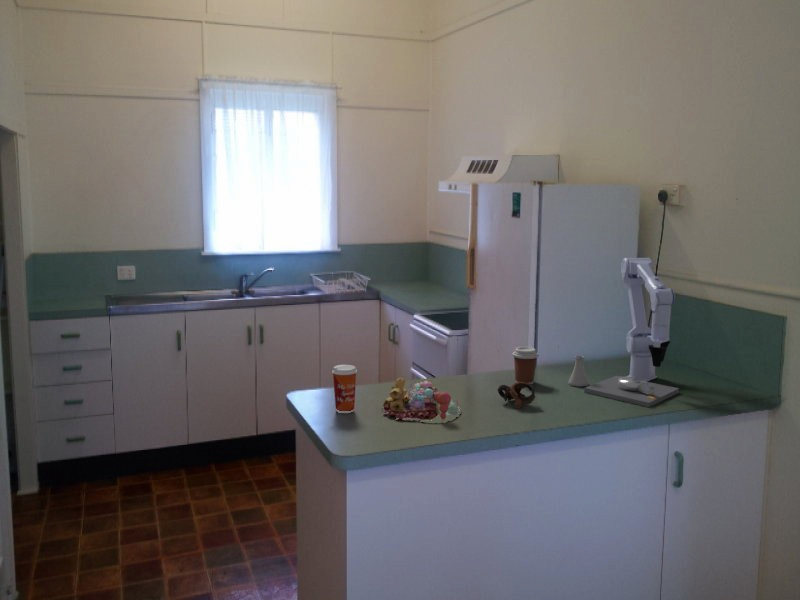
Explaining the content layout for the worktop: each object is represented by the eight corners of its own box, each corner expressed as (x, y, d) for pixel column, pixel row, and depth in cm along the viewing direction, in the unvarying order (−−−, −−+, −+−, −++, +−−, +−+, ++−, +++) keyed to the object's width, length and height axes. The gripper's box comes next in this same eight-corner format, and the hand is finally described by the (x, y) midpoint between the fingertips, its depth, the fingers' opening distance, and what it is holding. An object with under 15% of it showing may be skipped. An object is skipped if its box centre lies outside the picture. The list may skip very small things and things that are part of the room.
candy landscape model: (375, 421, 227) (375, 392, 225) (388, 398, 250) (388, 371, 248) (459, 426, 223) (459, 396, 221) (464, 402, 246) (465, 374, 244)
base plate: (616, 379, 272) (616, 374, 271) (678, 392, 256) (679, 387, 256) (584, 392, 256) (584, 387, 256) (648, 407, 240) (649, 402, 240)
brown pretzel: (532, 401, 248) (539, 383, 242) (528, 421, 240) (534, 404, 235) (496, 390, 249) (502, 372, 244) (491, 410, 242) (497, 392, 237)
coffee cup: (541, 381, 269) (542, 348, 267) (531, 387, 262) (532, 353, 259) (517, 377, 274) (518, 344, 272) (507, 383, 266) (508, 349, 264)
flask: (587, 381, 269) (588, 354, 267) (590, 387, 261) (591, 359, 260) (566, 381, 269) (567, 353, 267) (569, 387, 262) (570, 358, 260)
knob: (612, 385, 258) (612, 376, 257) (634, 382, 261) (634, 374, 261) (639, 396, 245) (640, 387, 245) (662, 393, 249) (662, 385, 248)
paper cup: (338, 416, 230) (337, 371, 228) (328, 409, 237) (328, 365, 234) (361, 412, 234) (361, 368, 231) (351, 405, 240) (351, 363, 238)
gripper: (651, 319, 262) (649, 357, 265) (644, 327, 249) (642, 367, 252) (673, 321, 259) (670, 360, 262) (667, 329, 246) (664, 369, 249)
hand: (658, 363), depth 257 cm, fingers open, 7 cm apart
